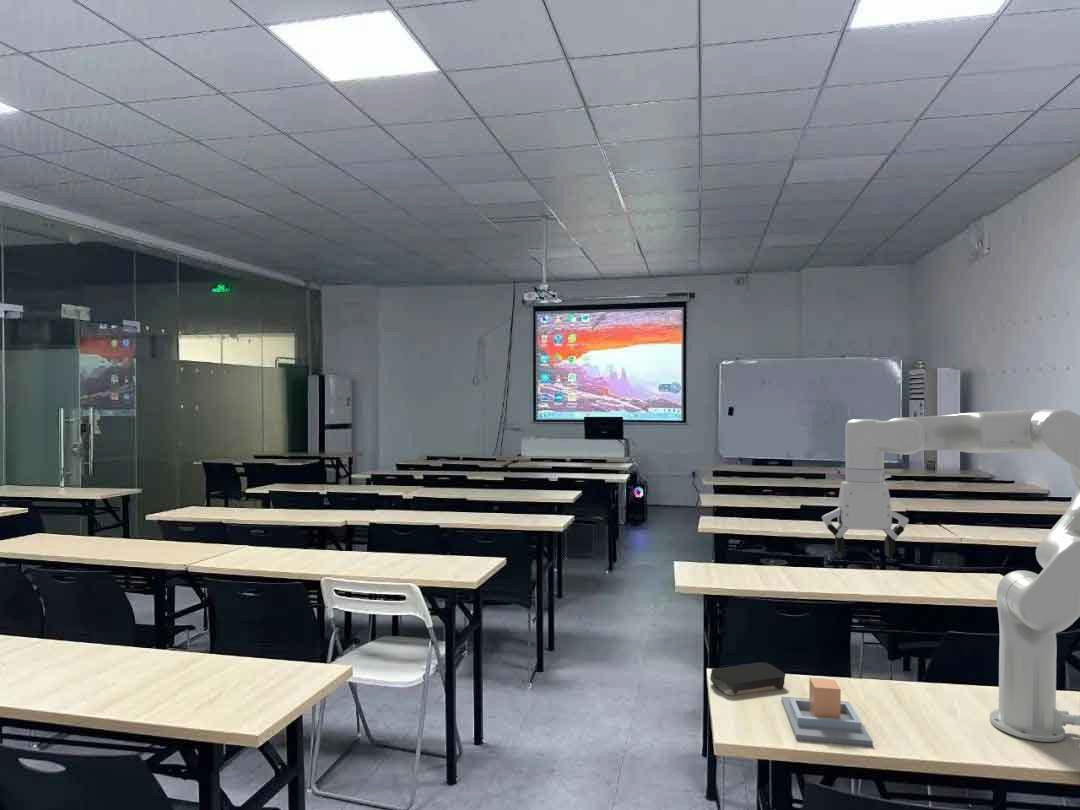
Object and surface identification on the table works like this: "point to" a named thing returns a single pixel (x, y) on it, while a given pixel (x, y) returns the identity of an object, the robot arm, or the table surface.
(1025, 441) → the robot arm
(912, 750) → the table surface
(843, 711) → the holder dock
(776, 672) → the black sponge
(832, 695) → the orange rectangular block
